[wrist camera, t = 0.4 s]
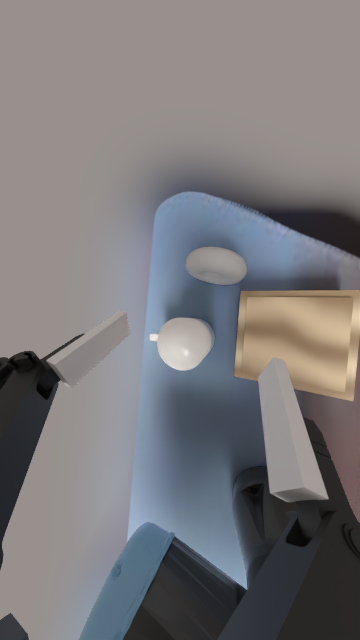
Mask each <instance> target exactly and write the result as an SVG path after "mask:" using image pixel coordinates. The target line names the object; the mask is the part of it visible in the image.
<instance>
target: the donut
mask: <svg viewBox="0 0 360 640" xmlns="http://www.w3.org/2000/svg"><path fill="white" fill-rule="evenodd" d="M186 268H187V270H188V272H189V273H190V274H191V275H192V276H193V277H195V278H197V279H199V280H202V281H205V282H208V283H213V284H220V285H230V284H235V283H238V282H240V281H241V280H242V279H243V278H244V277H245V275H246V273H247V265H246V261H245V260H244V259H243V258H242V257H241V256H240V255H239V254H237V253H235V252H233V251H231V250H228V249H225V248H220V247H202V248H198V249H196V250H194V251H192V252H191V253H190V254H189V255H188V257H187V260H186Z"/></svg>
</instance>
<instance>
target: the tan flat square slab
mask: <svg viewBox="0 0 360 640" xmlns="http://www.w3.org/2000/svg"><path fill="white" fill-rule="evenodd" d="M359 335H360V290H302V291H241V293H240V302H239V315H238V327H237V340H236V353H235V365H234V376H235V377H240V378H245V379H250V380H254V381H258V377H259V376H260V374H261V373H262V371H263V370H264V369H265V367H266V366H267V364H268V363H269V362H270V360H271V359H272V358H273V357H275V358H278V359H281V360H284V361H285V364H286V367H287V370H288V373H289V377H290V380H291V383H292V386H293V389H297V390H302V391H307V392H311V393H316V394H321V395H326V396H330V397H335V398H340V399H345V400H349V401H353V399H354V388H355V378H356V367H357V357H358V346H359Z"/></svg>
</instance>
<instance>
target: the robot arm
mask: <svg viewBox="0 0 360 640" xmlns="http://www.w3.org/2000/svg"><path fill="white" fill-rule="evenodd" d="M129 334H130V330H129V324H128V318H127V313H126V312H123V311H119V312H117V313H116V314H114V315H113V316H111V317H110V318H108V319H107V320H105V321H104V322H102V323H101V324H99V325H98V326H97V327H95V328H93V329H92V330H90V331H89V332H87V333H86V334H81V335H79V336H77V337H75V338H73V339H72V340H70V342H67V343H66V344H65V345H62V346H61V347H59V348H58V349H56V350H55V351H53V352H52V353H50V354H49V355H47V356H46V357H44V358H42V359H39V358H38V357H37V356H36V354H35V353H34V352H32V351H24V352H21V353H18V354H16V355H14V356H12V357H11V358H9V359H8V358H5V357H3V358H0V569H1V565H2V561H3V551H2V541H3V537H4V534H5V531H6V529H7V526H8V523H9V520H10V518H11V515H12V512H13V509H14V507H15V504H16V501H17V498H18V496H19V493H20V490H21V487H22V485H23V482H24V479H25V476H26V473H27V471H28V468H29V465H30V463H31V460H32V457H33V454H34V451H35V448H36V446H37V443H38V440H39V438H40V435H41V432H42V429H43V427H44V424H45V421H46V418H47V415H48V413H49V410H50V407H51V405H52V401H53V399H54V396H55V393H56V391H57V388H58V382H59V381H60V380H61V381H62V382H63V383H64V385H66V386H68V387H70V388H73V387H74V386H75V385H76V384H77V383H78V382H79V381H80V380H81V379H82V378H83V377H84V376H86V374H88V373H89V372H90V371H91V370H92V369H93V368H94V367H95V366H96V365H97V364H98V363H99V362H100V361H101V360H103V359H104V358H105V357H106V356H107V355H108V354H109V353H110V352H111V351H112V350H113V349H114V348H115V347H116V346H118V345H119V344H120V343H121V342H122V341H123V340H124V339H125V338H126V337H127V336H128V335H129ZM258 384H259V394H260V403H261V413H262V422H263V432H264V441H265V451H266V460H267V467H253V468H250V469H247V470H245V471H244V472H242V473H241V474H240V475H239V476H238V478H237V479H236V481H235V484H234V488H233V515H234V520H235V525H236V529H237V533H238V538H239V542H240V547H241V551H242V555H243V560H244V564H245V569H246V574H247V590H246V589H245V588H243V587H242V586H241V585H239V584H238V583H237V582H236V581H234V580H233V579H231V578H230V577H229V576H227V575H226V574H225V573H223V572H222V571H221V570H219V569H218V568H217V567H215V566H214V565H213V564H211V563H210V562H209V561H207V560H206V559H205V558H203V557H202V556H201V555H199V554H198V553H197V552H195V551H194V550H193V549H191V548H190V547H188V546H187V545H186V544H184V543H183V542H182V541H180V540H179V539H178V538H176V537H175V536H174V535H175V534H174V533H173V532H171V533H168V532H167V531H165V530H164V529H162V528H160V527H159V526H157V525H155V524H154V523H151V522H148V523H145V524H143V525H142V526H140V527H139V528H138V529H137V530H136V532H135V533H134V534H133V535H132V537H131V538H130V539H129V541H128V543H127V544H126V546H125V547H124V549H123V551H122V552H121V554H120V556H119V557H118V559H117V561H116V563H115V564H114V566H113V568H112V570H111V572H110V574H109V576H108V578H107V580H106V582H105V584H104V586H103V588H102V590H101V592H100V594H99V596H98V598H97V600H96V602H95V604H94V606H93V608H92V611H91V613H90V615H89V617H88V620H87V622H86V624H85V626H84V628H83V631H82V633H81V635H80V638H79V640H360V523H359V522H358V520H357V519H356V517H355V515H354V514H353V511H352V509H351V507H350V505H349V502H348V500H347V497H346V495H345V492H344V489H343V487H342V484H341V482H340V479H339V477H338V474H337V471H336V469H335V466H334V464H333V461H332V460H331V456H330V453H329V451H328V449H327V448H326V447H327V446H326V443H325V441H324V438H323V435H322V433H321V432H320V430H319V429H318V427H317V426H316V424H315V423H314V421H312V420H309V419H307V418H304V417H302V414H301V411H300V408H299V405H298V402H297V398H296V395H295V392H294V389H293V386H292V383H291V380H290V377H289V373H288V370H287V367H286V364H285V361H284V360H281V359H278V358H275V357H273V358H272V359H271V360H270V362H269V363H268V364H267V366H266V367H265V369H264V370H263V371H262V373H261V374H260V376H259V377H258ZM0 640H29V638H28V634H27V633H26V632H25V631H24V629H23V628H22V627H21V625H20V624H19V623H18V622H17V620H16V619H15V618H14V617H13V615H12V614H11V613H10V614H8V615H7V616H5V617H4V618H2V619H1V620H0Z"/></svg>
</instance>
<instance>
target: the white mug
mask: <svg viewBox="0 0 360 640" xmlns="http://www.w3.org/2000/svg"><path fill="white" fill-rule="evenodd" d="M150 340H151V341H157V346H158V351H159V354H160V356H161V358H162V359H163V360H164V362H165V363H166V364H167V365H169V366H170V367H172V368H174V369H177V370H190V369H192V368H194V367H196V366H197V365H198V364H199V363H200V362H201V361H202V360H203V359H204V358H205V356H206V355H207V354H208V353H209V352H210V350H211V349H212V348H213V346H214V343H215V334H214V331H213V329H212V327H211V326H210V325H209V324H208V323H207V322H206V321H204V320H201V319H195V318H182V317H179V318H174V319H171V320H169V321H167V322H166V323H165V324H164V325H163V326H162V328H161V329H160V331H159V333H152V334H150Z"/></svg>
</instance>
